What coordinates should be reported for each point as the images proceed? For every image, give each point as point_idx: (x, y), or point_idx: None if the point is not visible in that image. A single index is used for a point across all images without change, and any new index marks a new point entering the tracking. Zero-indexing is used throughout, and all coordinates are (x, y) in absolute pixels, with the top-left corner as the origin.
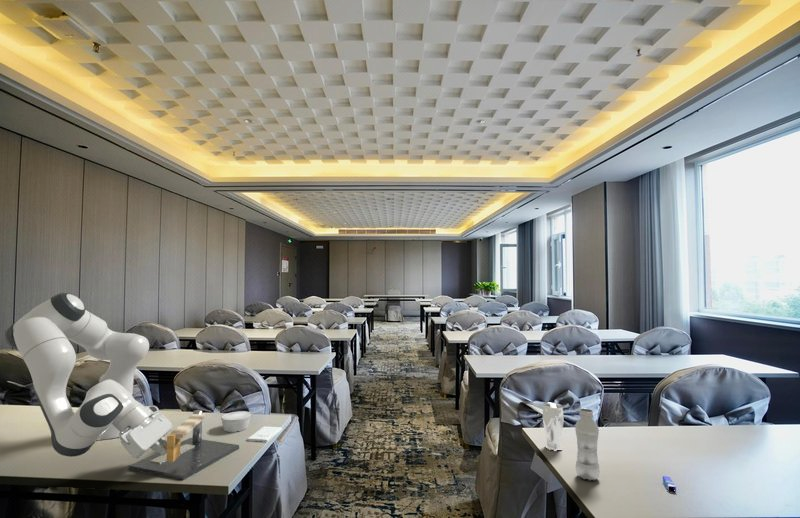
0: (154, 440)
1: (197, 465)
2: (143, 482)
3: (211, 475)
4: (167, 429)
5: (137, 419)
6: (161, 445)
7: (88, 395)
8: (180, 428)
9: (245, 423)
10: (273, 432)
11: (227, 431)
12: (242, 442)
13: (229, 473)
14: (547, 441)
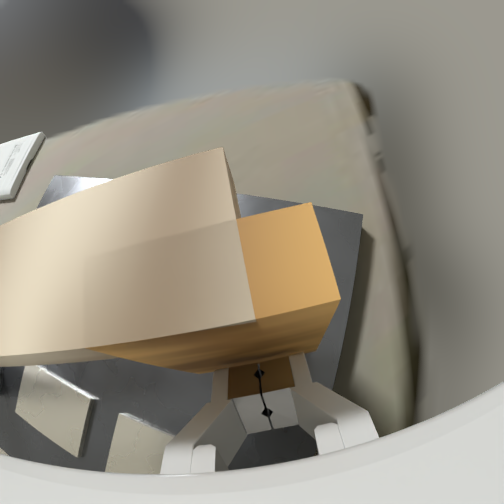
0: (436, 433)
1: (241, 215)
2: (410, 410)
3: (295, 142)
4: (36, 476)
5: None
6: (226, 456)
7: None
8: (42, 293)
9: None
10: (3, 146)
11: None
12: (20, 204)
13: (270, 102)
14: None
